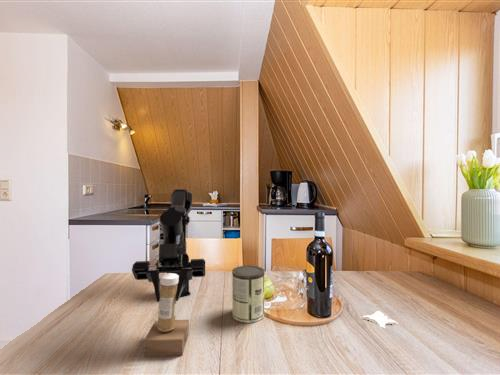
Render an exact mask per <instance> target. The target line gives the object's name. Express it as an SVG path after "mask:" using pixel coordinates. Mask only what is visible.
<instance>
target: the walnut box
mask: <svg viewBox="0 0 500 375" xmlns="http://www.w3.org/2000/svg"><path fill="white" fill-rule="evenodd" d="M189 322H190V321H189V319H175V328H174V329H173V330H171V331H169V332H161V331H159V330H158V329H157V325H158V319H157V320H154V321H153V323H152V326H151V327H150V329H149V330H148V332H147V334H146V336H145V338H144V340H143V357H144V358H146V357H147V358H149V357H151V358H152V357H153V358H154V357H177V356H178V357H180V356H183V355H184V352H185V348H186V344H187V341H188V338H189V333H190V332H189V331H190V330H189V329H190V328H189V326H190V325H189Z"/></svg>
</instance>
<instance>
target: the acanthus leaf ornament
mask: <svg viewBox="0 0 500 375" xmlns="http://www.w3.org/2000/svg"><path fill="white" fill-rule="evenodd" d="M361 318H362V319H363V320H365V319H366V320H365V321H367V320H369V322H370V321H371V322H370V323H374V322H375V323H374V324H376V323H377V324H376V325H378V324H379V325H380V326H379V325H378V326H379V328H380V327H381V328H380V329H382V328H385V329H386V326H387V325H386V324H392V325H391V326H393V325H399V323H398V322H397V321H395V320H393V319H389V317H388V316H387V315H385V314H384V313H382V312H381V311H379V310H377V311H376V312H374V313H373V314H371V315H363V316H362V317H361ZM395 323H397V324H395ZM385 325H386V326H385Z"/></svg>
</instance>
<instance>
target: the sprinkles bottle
mask: <svg viewBox="0 0 500 375" xmlns="http://www.w3.org/2000/svg"><path fill="white" fill-rule="evenodd" d="M159 278H160V295H159V302H158V312H157V313H158V314H157V316H158V317H157V320H158V325H157V329H158V330H159V331H161V332H169V331H171V330H173V329H174V328H175V320H176V315H177V303H178V301H176V294H177V285H178V281H179V276H178V275H177V274H174V273H162V274H161V275H160V276H159Z"/></svg>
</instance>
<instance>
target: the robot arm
mask: <svg viewBox="0 0 500 375" xmlns="http://www.w3.org/2000/svg"><path fill="white" fill-rule="evenodd" d="M193 199H194V198H193V194H192V193H191V192H189V191H188V190H187V189H186V188H180V189H179V188H176V189H173V192H172V193H171V194H170V205H171V206H169V207H167V208H166V209H165V211H164V212H162V213H161V215H160V216H159V222H160V227H161V232H162V235H163V240H162V244H159V245H158V246H159V248H158V263H159V264H160V265H158V264H151V261H150V260H142V261H141V260H139V261H138V260H137V261H135V262H134V263H133V264H132V268H131V272H132V274H133V277H134V279H135V280H137V281H146V280H147V281H148V282H149V283H152V285H153V289H154V295H155V299H156V302H157V303H159V295H160V274H166V273H174V274H177V275H178V276H179V281H178V285H177V294H176V301H177V302H178V301H179V300H180V297H185V296H189V295H191V292H190V289H189V288H190V281H191V280H193V278H200V277H202V278H203V277H205V276H206V260H205V259H204V258H192V259H190V256H189V255H188V252H187V226H189V224H190V222H191V218H190V217H189V214H190V212H191V210H192V206H193V203H194V202H193Z"/></svg>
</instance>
